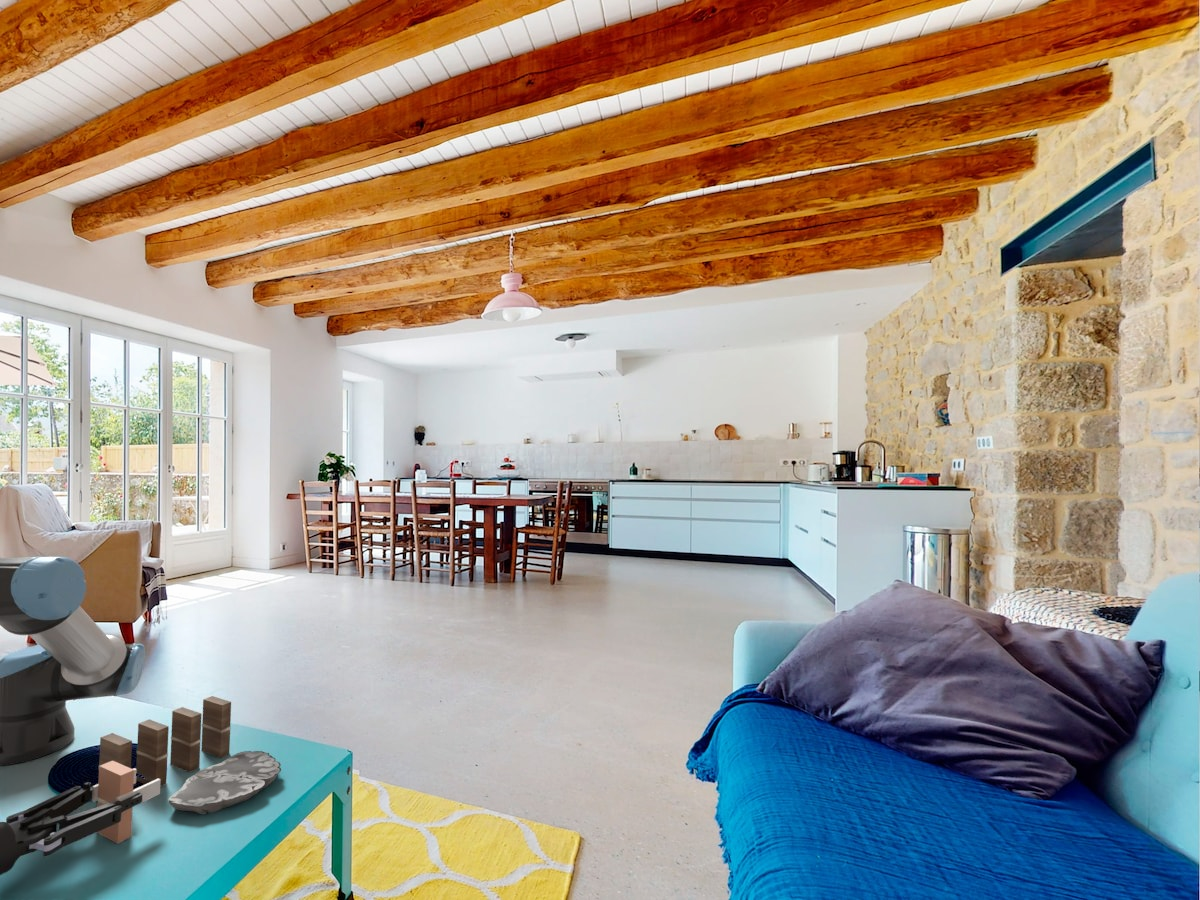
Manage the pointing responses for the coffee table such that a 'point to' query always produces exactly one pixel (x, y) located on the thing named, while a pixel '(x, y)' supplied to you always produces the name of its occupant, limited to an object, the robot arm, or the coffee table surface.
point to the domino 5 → (216, 726)
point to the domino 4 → (185, 739)
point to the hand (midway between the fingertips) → (146, 780)
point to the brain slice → (226, 782)
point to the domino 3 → (152, 751)
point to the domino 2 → (111, 786)
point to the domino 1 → (115, 750)
